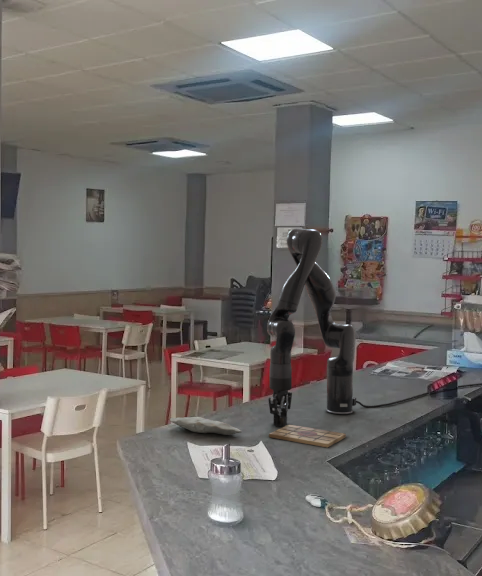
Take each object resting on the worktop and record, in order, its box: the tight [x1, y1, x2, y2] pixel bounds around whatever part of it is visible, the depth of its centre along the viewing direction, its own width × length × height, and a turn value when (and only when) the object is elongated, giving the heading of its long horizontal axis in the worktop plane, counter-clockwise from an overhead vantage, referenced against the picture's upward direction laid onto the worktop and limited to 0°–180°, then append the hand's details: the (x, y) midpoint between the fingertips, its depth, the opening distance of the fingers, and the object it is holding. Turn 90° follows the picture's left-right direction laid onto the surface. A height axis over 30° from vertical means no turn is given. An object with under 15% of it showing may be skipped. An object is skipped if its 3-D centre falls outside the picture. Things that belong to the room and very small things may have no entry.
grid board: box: [268, 424, 347, 448], centre depth 235 cm, size 15×20×1 cm
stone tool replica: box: [169, 416, 243, 436], centre depth 241 cm, size 15×5×25 cm
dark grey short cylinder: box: [273, 415, 288, 428], centre depth 251 cm, size 5×5×3 cm
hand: (280, 423), depth 251 cm, fingers closed on dark grey short cylinder, 4 cm apart
